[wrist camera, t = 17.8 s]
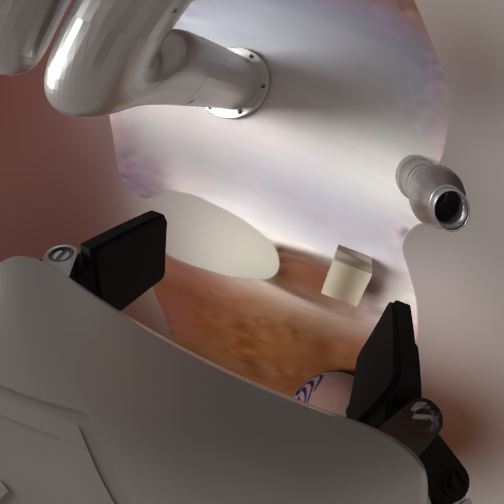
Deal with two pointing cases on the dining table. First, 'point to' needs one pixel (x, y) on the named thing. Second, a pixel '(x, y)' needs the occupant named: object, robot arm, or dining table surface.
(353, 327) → the dining table surface
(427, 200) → the silver metal bottle
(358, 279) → the beige cube
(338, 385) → the ceramic pitcher
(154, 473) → the robot arm
